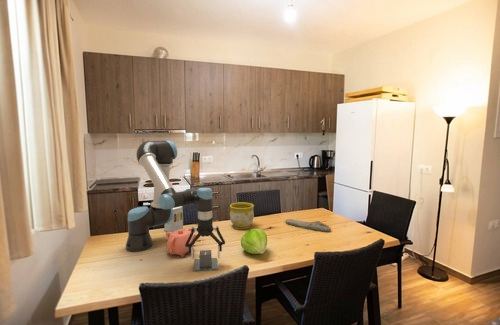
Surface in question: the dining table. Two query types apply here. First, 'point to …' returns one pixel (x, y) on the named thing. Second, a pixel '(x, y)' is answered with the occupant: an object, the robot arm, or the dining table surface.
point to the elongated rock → (309, 225)
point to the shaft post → (207, 268)
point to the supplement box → (175, 220)
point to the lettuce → (254, 241)
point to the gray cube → (205, 258)
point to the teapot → (179, 241)
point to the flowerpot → (241, 215)
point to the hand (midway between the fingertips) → (205, 258)
